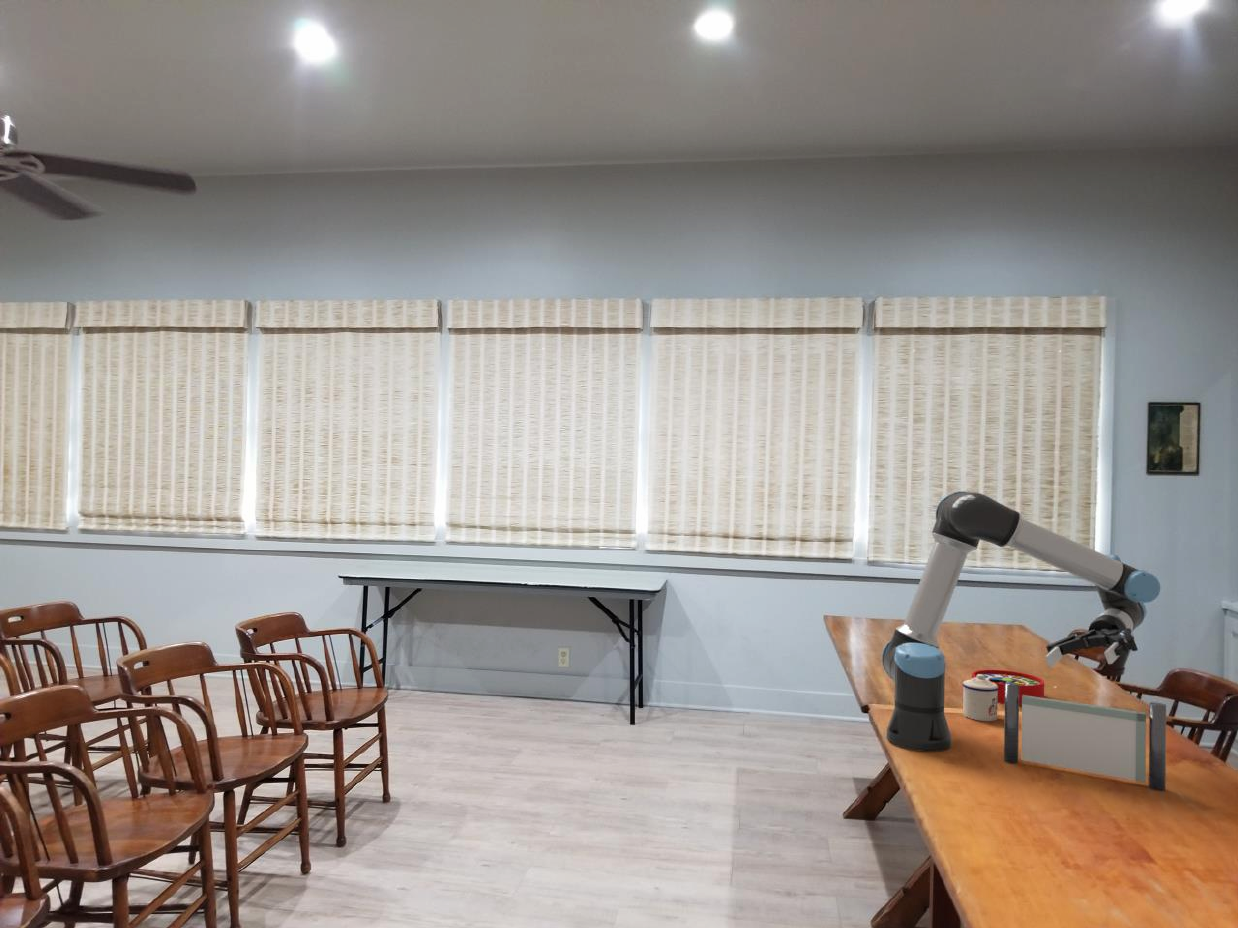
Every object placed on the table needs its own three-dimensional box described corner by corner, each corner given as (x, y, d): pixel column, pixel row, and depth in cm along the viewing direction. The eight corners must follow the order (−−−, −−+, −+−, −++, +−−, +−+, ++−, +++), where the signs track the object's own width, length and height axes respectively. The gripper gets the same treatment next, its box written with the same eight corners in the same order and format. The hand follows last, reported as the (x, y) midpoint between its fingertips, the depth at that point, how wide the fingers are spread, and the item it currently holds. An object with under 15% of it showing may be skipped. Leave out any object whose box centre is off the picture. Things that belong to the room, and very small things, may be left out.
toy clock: (1038, 673, 251) (1049, 688, 232) (1038, 691, 251) (1049, 708, 232) (969, 666, 257) (974, 681, 239) (968, 685, 257) (974, 701, 238)
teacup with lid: (996, 723, 215) (996, 680, 216) (960, 718, 220) (960, 675, 220) (1000, 713, 226) (1001, 671, 226) (965, 707, 230) (966, 667, 231)
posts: (1003, 761, 186) (1004, 684, 186) (1004, 758, 189) (1005, 681, 189) (1165, 791, 170) (1166, 706, 170) (1165, 787, 172) (1165, 703, 172)
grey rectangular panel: (1021, 760, 184) (1022, 696, 185) (1022, 757, 186) (1022, 694, 186) (1145, 782, 172) (1146, 714, 172) (1145, 779, 174) (1145, 712, 174)
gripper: (1171, 638, 189) (1141, 672, 176) (1065, 646, 209) (1030, 677, 195) (1160, 608, 190) (1128, 640, 177) (1055, 619, 209) (1019, 648, 196)
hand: (1077, 660), depth 186 cm, fingers open, 13 cm apart
